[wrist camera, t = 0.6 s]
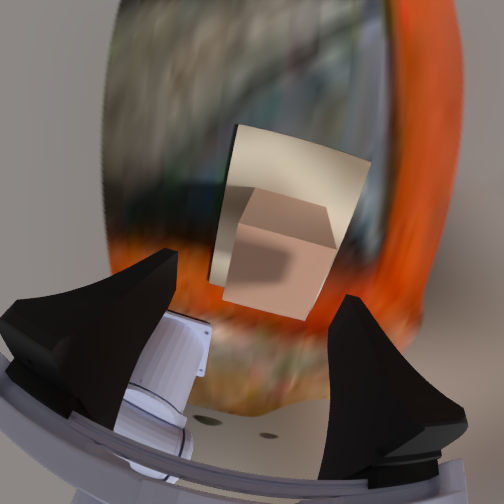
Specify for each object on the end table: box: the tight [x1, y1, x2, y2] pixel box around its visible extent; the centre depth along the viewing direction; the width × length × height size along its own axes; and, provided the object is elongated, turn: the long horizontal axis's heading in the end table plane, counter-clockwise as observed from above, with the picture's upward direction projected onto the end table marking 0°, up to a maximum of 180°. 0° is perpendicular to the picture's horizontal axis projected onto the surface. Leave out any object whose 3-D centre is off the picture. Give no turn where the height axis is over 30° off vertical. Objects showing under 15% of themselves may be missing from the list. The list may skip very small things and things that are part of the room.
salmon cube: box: [222, 188, 337, 321], centre depth 17 cm, size 5×5×6 cm
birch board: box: [209, 124, 371, 310], centre depth 20 cm, size 13×9×1 cm
